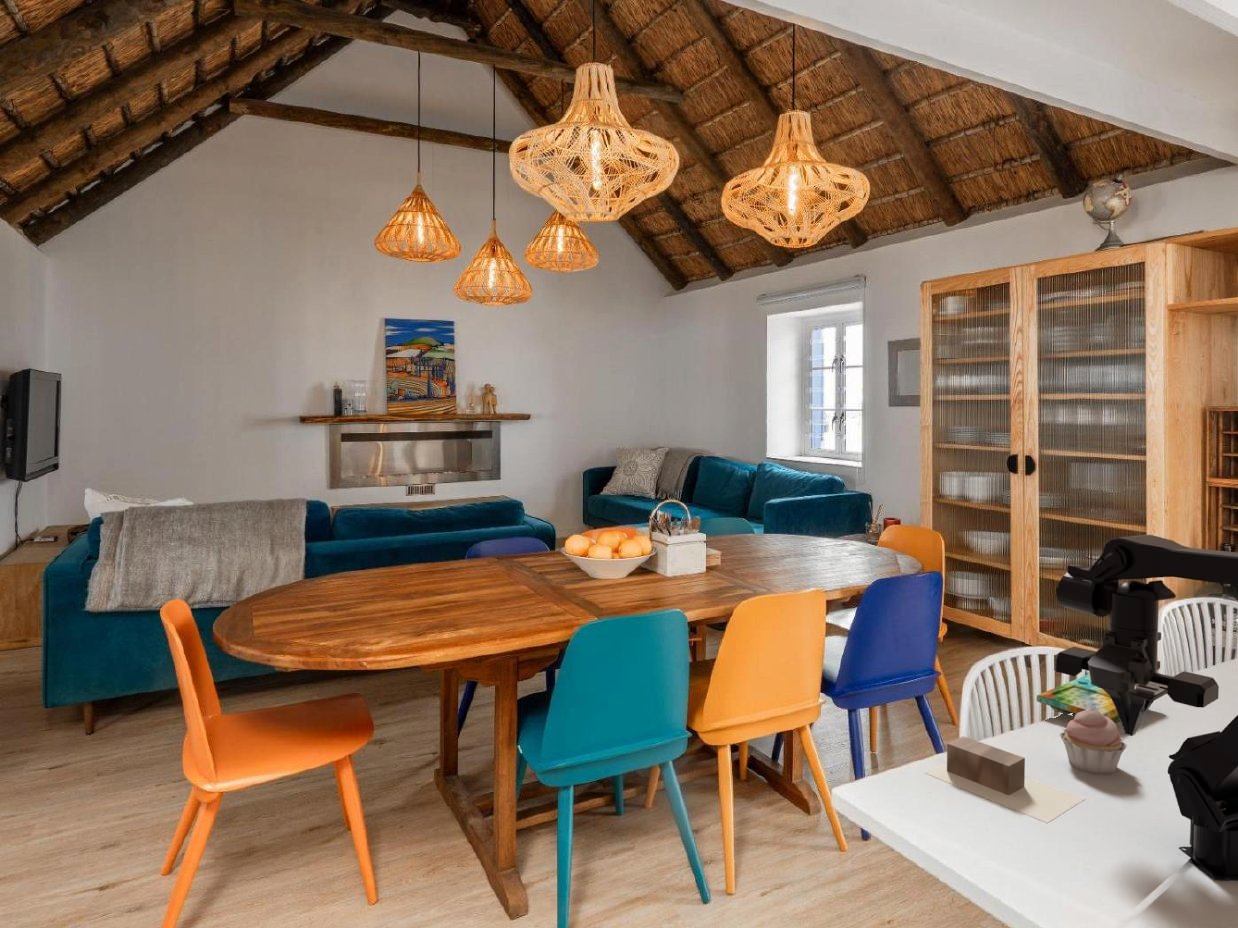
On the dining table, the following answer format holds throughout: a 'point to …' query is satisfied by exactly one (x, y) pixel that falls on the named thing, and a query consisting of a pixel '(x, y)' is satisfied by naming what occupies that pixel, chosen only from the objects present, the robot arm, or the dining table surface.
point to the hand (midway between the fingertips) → (1130, 734)
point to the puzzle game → (1079, 698)
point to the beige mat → (1018, 795)
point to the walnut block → (986, 765)
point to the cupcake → (1093, 742)
